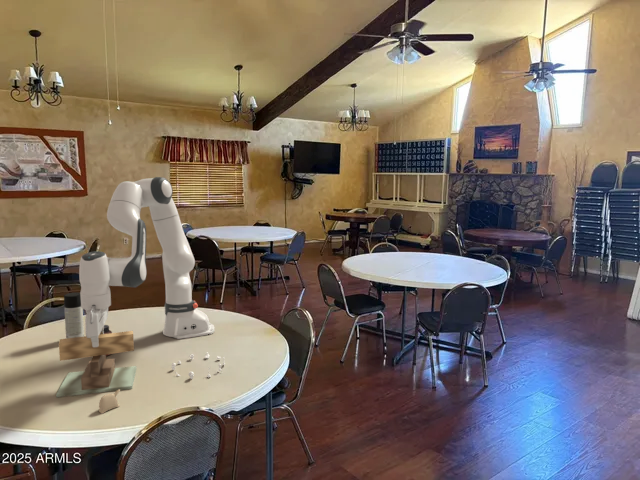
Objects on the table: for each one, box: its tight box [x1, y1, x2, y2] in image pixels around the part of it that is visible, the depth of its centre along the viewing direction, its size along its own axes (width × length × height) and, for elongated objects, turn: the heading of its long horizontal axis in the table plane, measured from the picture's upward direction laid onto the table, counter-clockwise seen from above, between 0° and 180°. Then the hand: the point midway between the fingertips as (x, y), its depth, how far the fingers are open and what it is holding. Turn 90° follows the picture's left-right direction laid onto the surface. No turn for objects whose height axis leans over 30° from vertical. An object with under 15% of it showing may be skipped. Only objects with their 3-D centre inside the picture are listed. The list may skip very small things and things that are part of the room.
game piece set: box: [171, 352, 226, 380], centre depth 161 cm, size 19×20×4 cm
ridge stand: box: [55, 355, 137, 398], centre depth 148 cm, size 22×16×10 cm
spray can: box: [63, 292, 85, 339], centre depth 184 cm, size 7×7×20 cm
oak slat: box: [58, 330, 135, 362], centre depth 147 cm, size 22×4×6 cm, turn 116°
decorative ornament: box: [98, 389, 121, 415], centre depth 132 cm, size 3×7×4 cm, turn 142°
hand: (98, 341), depth 147 cm, fingers open, 8 cm apart
